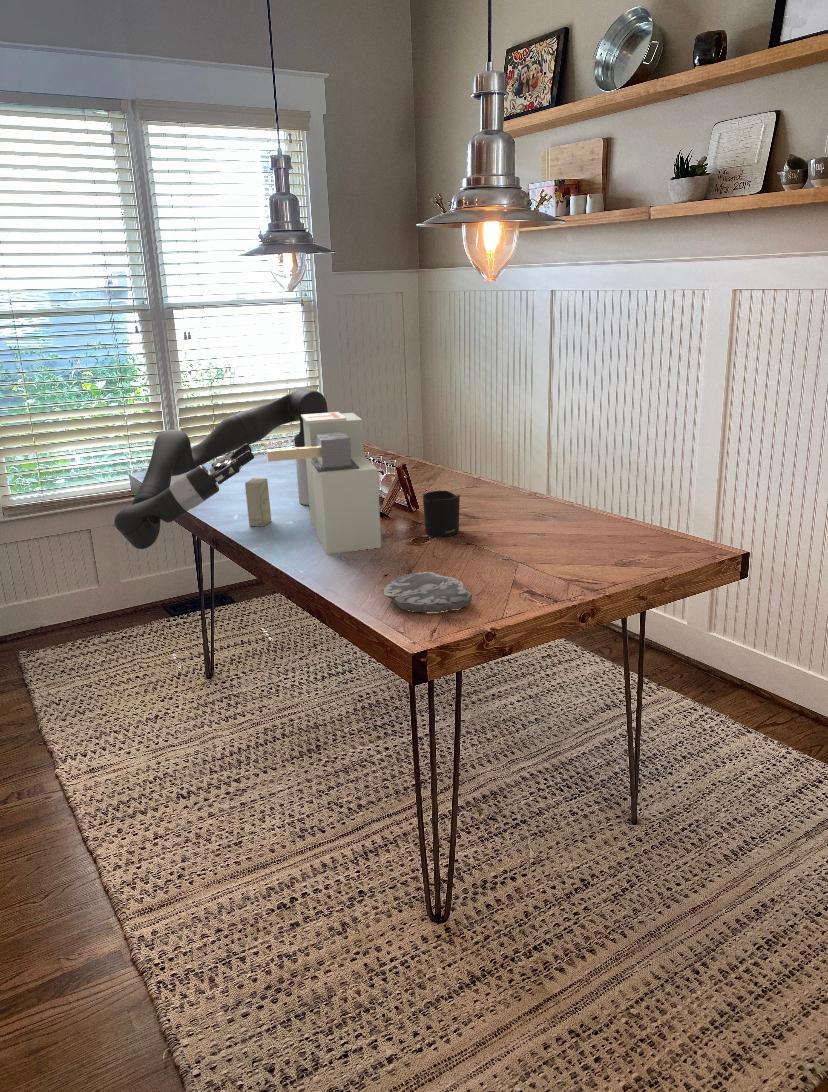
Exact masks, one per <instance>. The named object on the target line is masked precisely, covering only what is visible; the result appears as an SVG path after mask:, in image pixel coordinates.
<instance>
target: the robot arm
mask: <svg viewBox="0 0 828 1092" xmlns="http://www.w3.org/2000/svg"><path fill="white" fill-rule="evenodd" d="M328 409H329V408H328V404H327V399H326V398H325V396H324V395H323V394H322V393H321V392H319V391H317V390H312V389H305V388H299V389H295V390H293V391H291V392H290V393H287V394H285V395H284V396H282V397H280V398H278V399H275V400H273V401H271V402H269V403H266V404H262V405H258V406H256V407H252V408H249V409H246V410H243V411H240V412H237V413H235V414H232V415H229V416H227V417H226V418H224V419H223V420H221V421H220V422H219V423H218V425H216V426H215V427H214V429H213V430H212V431H211V432H210V433H209V434H208V436H206V438H204V440H202V441H200V442H199V443H198V444H195V445H194V446H193V445H192V446H191V444H192V443H191V440H190V437H189V435H188V434H187V433H186V432H184V431H183V430H181V429H166V430H165V431H162V432H160V433H159V434H158V435H157V437H156V438H155V440H154V444H153V449H152V452H151V457H150V460H149V462H148V463H149V464H148V466H147V470H146V473H145V475H144V477H143V479H142V483H140V484H141V485H139V486H140V487H139V488H138V490H137V492H136V493H135V496H134V498H133V499H132V504H131V505H129V506H126V507H124V508H122V509H121V510H120V511H118V512H117V514H116V515H115V517H114V519H113V520H114V521H113V522H114V527H115V528H116V530H118V532H119V533H120V534H121V535H123V537H124V538H125V539H126V540H127V541H128V542H129V544H130V545H131V546H133V547H134V548H136V549H138V550H145V549H148V548H150V547H151V546H152V545H153V544H154V543H155V542H156V541H157V539H158V538H159V534H160V529H161V520H162V521H163V522H165V523H172V522H173V521H175V520H176V519H178V518H180V517H181V516H183V515H184V514H185V513H187V512H189V511H190V510H193V509H195V508H196V507H198V506H199V505H200V504H202V503H204V502H205V501H207V500H208V499H210V498H211V497H213V496H214V495H215V494H217V493H218V492H219V491H220V487H219V485H222V484H223V483H224V482H227V480H228V479H230V478H232V477H233V476H235V475H236V474H239V473H240V472H241V469H242V468H243V467H244V466H245V465H246V464H248V463H249V462H251V461H252V460H253V459H255V454H253V452H252V450H253V449H252V447H250V445H252V444H256V443H257V442H260V441H262V439H264V438H266V437H267V436H268V435H269V434H270V433H271V432H273V430H275V429H276V428H278V427H281V426H282V425H286V424H289V423H294V422H297V421H298V422H299V433H297V434H296V435H294V440H293V441H294V448H296V447H305V440H304V427H303V418H302V417H301V415H303V414H316V413H329V412H328ZM219 457H220V458H219ZM217 458H219V459H217ZM215 459H217V460H216V461H214V462H212V463H211V465H210V466H211V468H210V469H207V467H205V466H204V465H205V464H207V463H209V462H210V461H213V460H215ZM295 466H296V467H295V468H296V477H297V478H296V479H297V493H298V503H299V504H301V505H304V506H306V505H307V506H309V494H308V481H307V467H306V458H305V459H295ZM184 474H185V475H184ZM181 475H183V476H182V477H180V478H178V479H177V480H176V481H175V482H173V483H172V485H171V481H172V477H177V476H181Z"/></svg>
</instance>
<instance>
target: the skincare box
mask: <svg viewBox="0 0 828 1092" xmlns="http://www.w3.org/2000/svg"><path fill="white" fill-rule="evenodd" d="M244 486H245V495H246V497H245V498H246V507H247V515H248V524H249V526H250V527H265V526H266V525H267V524H269V523H270V522H271V521H272V514H271V512H272V510H271V502H270V501H271V500H270V492H269V483H268V478H266V477H265V478H263V477H262V478H259V477H257V478H256V477H255V478H251V479H250V480H248V481H246V482H245V483H244Z"/></svg>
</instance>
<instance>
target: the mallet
mask: <svg viewBox="0 0 828 1092" xmlns="http://www.w3.org/2000/svg"><path fill="white" fill-rule="evenodd" d="M315 436H316V446H308V447H296V448H295V447H288V448H287V447H286V448H285V447H284V448H276V449H275V448H272V449H266V460H267V462H279V461H290V460H291V461H292V460H296V459H305V458H317V462H318V463H319V465H320V466H321V467H322V469H332V468H343V467H352V464H351V447H350V438H349V437H348V436H347V435H346V434H345V433H344V432H335V433H322V434H315Z"/></svg>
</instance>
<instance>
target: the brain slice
mask: <svg viewBox="0 0 828 1092" xmlns="http://www.w3.org/2000/svg"><path fill="white" fill-rule="evenodd" d="M464 587H465V586H464V584H463V582H462V581H460V580H458V579H457V578H455V577H451V576H447V575H446V576H445V575H441V574H437V573H435V572H432V571H419V572H415V573H414V572H413V573H410V574H404V575H401V576H396V577H395V579H393V580H391V581H390V582H389V584H386V585H385V588H383V590H382V592H383V596H385V597H386V598H388V599H391V601H393V602H394V603H395V605H397V606H398V607H399V608H400V609H402V610H403V609H404V611H405V610H410V611H414V612H423V613H424V612H426V613H427V612H441V611H446V610H452V609H459V608H461V609H463V608H462V607H464V606H465V607H466V606H468V605H469V604H470V603H471V601H472V598H473V593H471V592H470V591H469V590H467V589H465V588H464ZM465 607H464V608H465ZM414 612H413V613H414ZM426 613H425V614H426Z"/></svg>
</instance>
